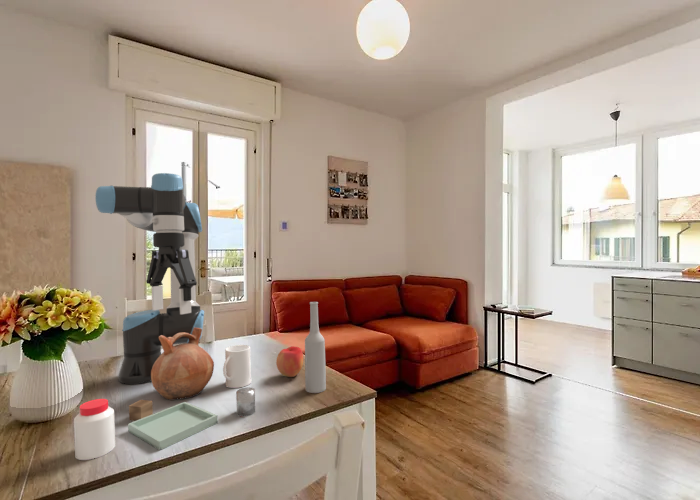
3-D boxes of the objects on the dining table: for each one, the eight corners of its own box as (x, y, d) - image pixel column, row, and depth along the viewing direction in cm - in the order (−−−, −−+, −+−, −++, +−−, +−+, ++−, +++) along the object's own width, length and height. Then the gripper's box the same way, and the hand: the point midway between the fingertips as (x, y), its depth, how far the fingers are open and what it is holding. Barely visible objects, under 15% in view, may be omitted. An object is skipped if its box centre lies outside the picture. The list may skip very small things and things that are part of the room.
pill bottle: (67, 456, 84) (65, 408, 84) (101, 439, 91) (99, 394, 91) (89, 463, 81) (87, 413, 81) (123, 445, 88) (121, 399, 88)
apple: (290, 369, 138) (290, 342, 138) (309, 374, 132) (309, 346, 132) (271, 377, 130) (270, 349, 130) (290, 383, 125) (290, 353, 124)
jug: (173, 410, 106) (171, 341, 106) (139, 397, 116) (137, 333, 115) (226, 388, 122) (224, 327, 121) (191, 378, 131) (190, 321, 131)
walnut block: (129, 420, 101) (128, 405, 101) (141, 413, 105) (140, 399, 104) (141, 421, 100) (140, 407, 100) (152, 415, 103) (152, 400, 103)
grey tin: (233, 413, 104) (232, 392, 103) (247, 406, 108) (246, 386, 107) (244, 417, 101) (244, 396, 100) (259, 410, 105) (258, 389, 105)
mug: (233, 393, 117) (232, 356, 117) (212, 389, 120) (211, 353, 120) (256, 380, 128) (256, 345, 127) (237, 377, 131) (236, 343, 131)
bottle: (317, 394, 115) (315, 304, 114) (301, 390, 118) (299, 303, 118) (330, 387, 120) (328, 301, 120) (314, 383, 124) (312, 300, 123)
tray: (128, 431, 94) (128, 423, 94) (185, 408, 107) (184, 401, 107) (159, 450, 86) (159, 441, 85) (217, 422, 98) (217, 415, 98)
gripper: (131, 234, 103) (133, 310, 103) (182, 229, 89) (184, 317, 89) (158, 234, 109) (160, 306, 110) (209, 230, 95) (211, 312, 95)
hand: (171, 311), depth 99 cm, fingers open, 13 cm apart
